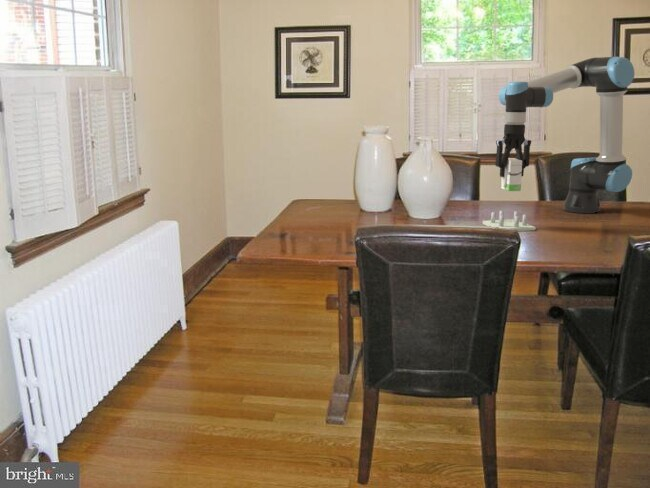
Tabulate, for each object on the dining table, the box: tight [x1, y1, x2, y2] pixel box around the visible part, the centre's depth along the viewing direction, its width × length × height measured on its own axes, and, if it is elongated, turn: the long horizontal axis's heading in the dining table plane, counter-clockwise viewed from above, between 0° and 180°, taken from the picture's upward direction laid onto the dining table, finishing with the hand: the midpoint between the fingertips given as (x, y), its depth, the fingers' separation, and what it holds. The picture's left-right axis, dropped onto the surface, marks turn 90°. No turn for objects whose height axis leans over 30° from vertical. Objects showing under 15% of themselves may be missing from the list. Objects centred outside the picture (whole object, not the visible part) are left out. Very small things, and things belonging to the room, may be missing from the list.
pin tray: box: [482, 210, 536, 232], centre depth 271 cm, size 14×16×5 cm
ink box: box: [500, 157, 522, 192], centre depth 267 cm, size 9×5×12 cm, turn 6°
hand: (510, 185), depth 268 cm, fingers closed on ink box, 5 cm apart
